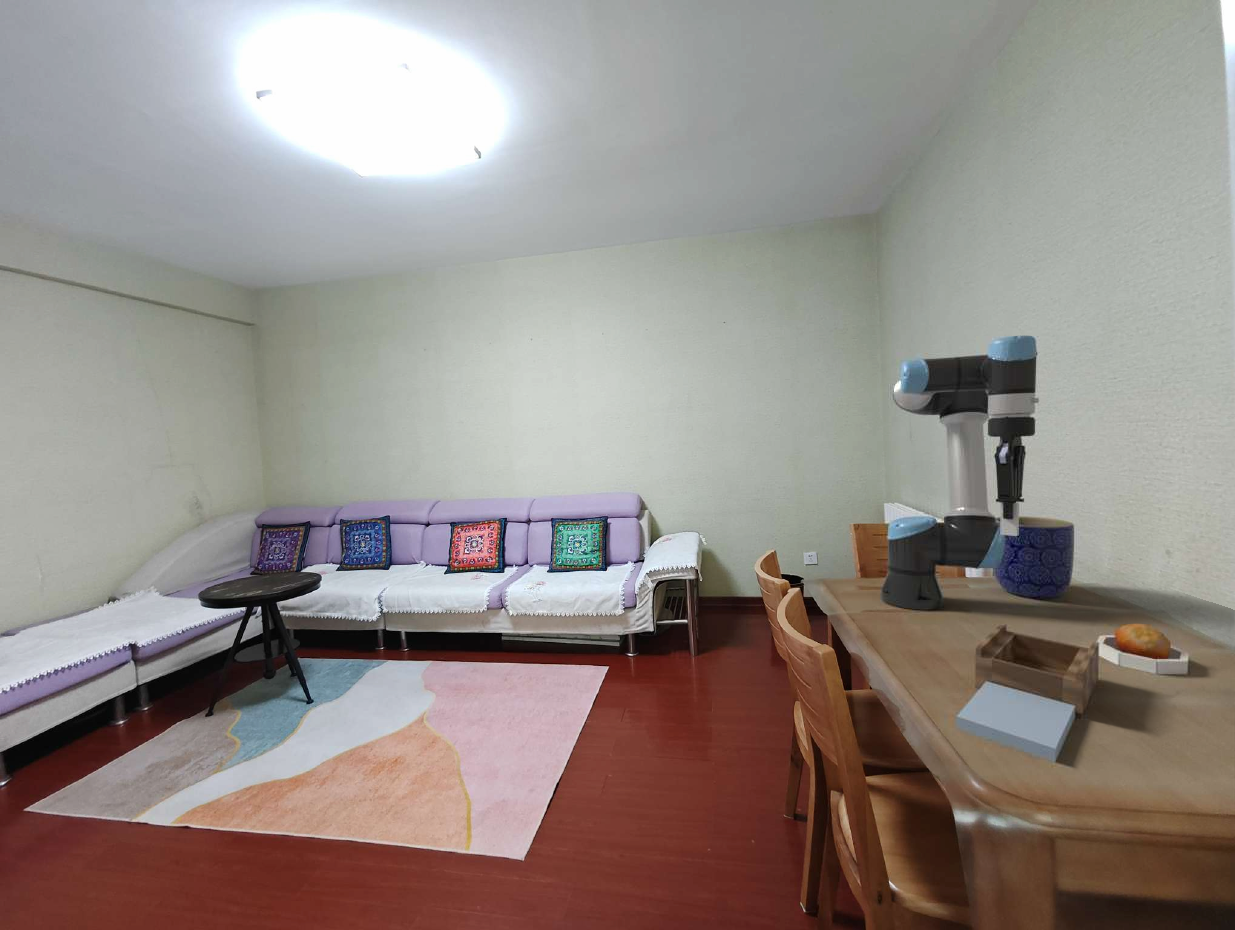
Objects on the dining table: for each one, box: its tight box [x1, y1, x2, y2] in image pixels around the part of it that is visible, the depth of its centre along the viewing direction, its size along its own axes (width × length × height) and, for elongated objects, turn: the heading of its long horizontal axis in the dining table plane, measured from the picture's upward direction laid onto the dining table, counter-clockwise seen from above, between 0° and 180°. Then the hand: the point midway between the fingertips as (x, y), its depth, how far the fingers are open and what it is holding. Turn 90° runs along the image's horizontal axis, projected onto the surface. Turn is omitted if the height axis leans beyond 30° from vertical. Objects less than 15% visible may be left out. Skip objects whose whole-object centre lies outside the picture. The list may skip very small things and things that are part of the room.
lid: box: [956, 681, 1076, 763], centre depth 87 cm, size 17×12×2 cm
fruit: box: [1114, 623, 1172, 659], centre depth 108 cm, size 8×8×8 cm
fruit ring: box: [1096, 634, 1190, 675], centre depth 108 cm, size 13×13×2 cm
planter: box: [992, 515, 1075, 600], centre depth 151 cm, size 18×18×21 cm
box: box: [974, 622, 1100, 719], centre depth 99 cm, size 18×15×8 cm
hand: (1009, 534), depth 106 cm, fingers closed
